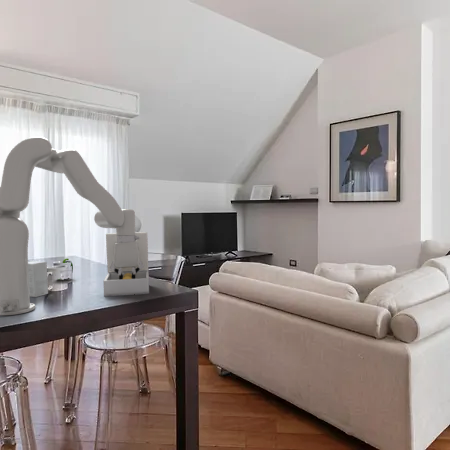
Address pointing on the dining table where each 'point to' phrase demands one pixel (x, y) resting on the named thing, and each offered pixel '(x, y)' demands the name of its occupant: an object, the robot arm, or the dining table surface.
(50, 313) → the dining table surface
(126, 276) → the yellow rounded cylinder
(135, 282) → the white square tray
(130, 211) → the robot arm
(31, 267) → the small box
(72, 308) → the dining table surface
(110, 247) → the lid
